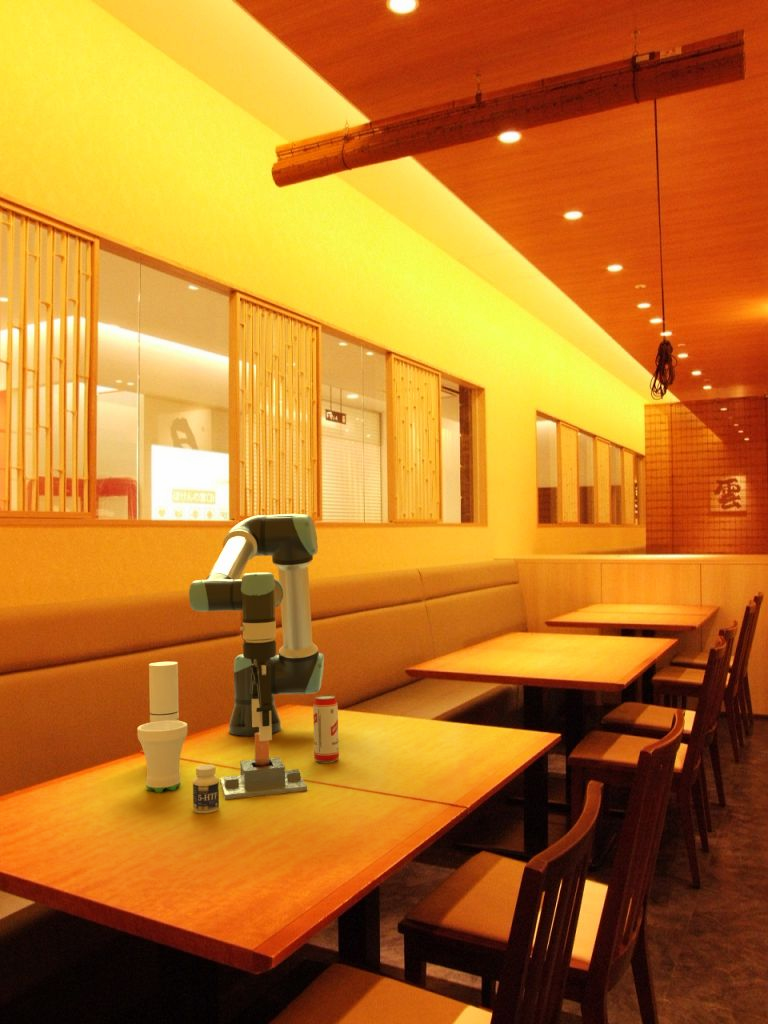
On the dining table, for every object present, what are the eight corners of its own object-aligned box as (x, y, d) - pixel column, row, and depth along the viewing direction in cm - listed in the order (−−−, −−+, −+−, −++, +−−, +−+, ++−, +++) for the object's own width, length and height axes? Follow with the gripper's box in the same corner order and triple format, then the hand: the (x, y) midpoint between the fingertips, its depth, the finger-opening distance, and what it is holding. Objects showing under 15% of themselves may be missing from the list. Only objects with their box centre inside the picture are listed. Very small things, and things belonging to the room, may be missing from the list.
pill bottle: (197, 815, 170) (196, 771, 171) (190, 808, 175) (189, 766, 175) (222, 811, 173) (221, 768, 173) (215, 804, 178) (214, 762, 178)
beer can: (340, 757, 214) (339, 694, 214) (337, 763, 207) (335, 699, 208) (316, 757, 214) (315, 694, 215) (312, 763, 208) (310, 699, 209)
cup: (166, 778, 198) (165, 718, 199) (199, 785, 192) (197, 723, 192) (127, 790, 189) (126, 727, 190) (160, 798, 183) (158, 733, 183)
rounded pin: (254, 785, 191) (253, 732, 191) (268, 783, 192) (267, 731, 192) (256, 789, 188) (255, 735, 188) (270, 787, 189) (269, 734, 189)
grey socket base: (220, 781, 194) (219, 760, 194) (296, 774, 199) (296, 753, 199) (225, 799, 181) (224, 776, 181) (307, 790, 186) (306, 767, 186)
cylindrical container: (144, 764, 212) (143, 665, 213) (162, 756, 219) (160, 661, 220) (168, 766, 210) (166, 666, 210) (185, 758, 216) (183, 662, 217)
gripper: (237, 634, 202) (239, 722, 202) (248, 648, 178) (251, 748, 178) (268, 632, 204) (270, 719, 204) (283, 646, 180) (286, 744, 180)
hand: (261, 733), depth 191 cm, fingers open, 13 cm apart
